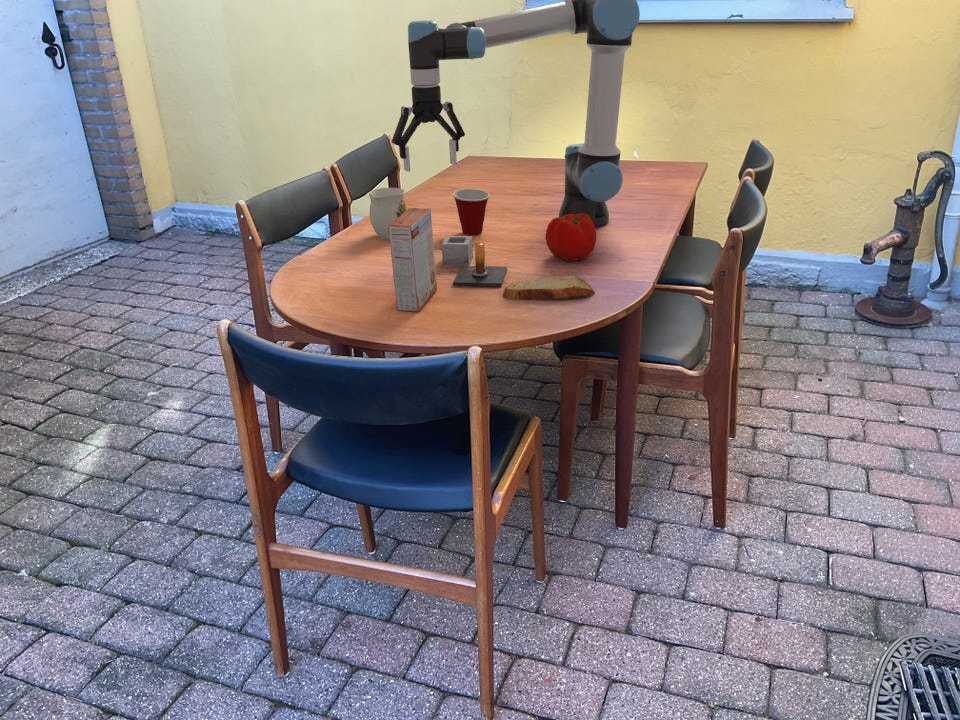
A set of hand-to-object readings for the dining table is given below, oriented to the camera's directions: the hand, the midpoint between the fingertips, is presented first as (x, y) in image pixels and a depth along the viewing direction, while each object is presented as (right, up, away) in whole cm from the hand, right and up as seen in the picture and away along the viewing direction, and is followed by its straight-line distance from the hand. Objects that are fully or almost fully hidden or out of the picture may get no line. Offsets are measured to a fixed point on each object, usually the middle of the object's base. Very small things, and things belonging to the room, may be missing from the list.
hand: (430, 167), depth 219 cm
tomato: (+38, -25, -2) cm, 45 cm away
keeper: (+14, -31, -14) cm, 37 cm away
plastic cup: (+11, -15, +20) cm, 27 cm away
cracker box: (-2, -38, -26) cm, 46 cm away
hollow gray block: (+7, -26, -2) cm, 27 cm away
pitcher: (-13, -15, +21) cm, 29 cm away
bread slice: (+30, -37, -24) cm, 53 cm away
